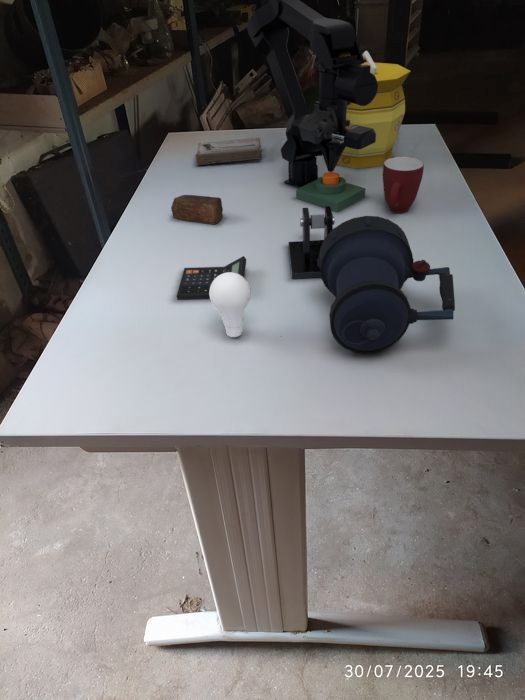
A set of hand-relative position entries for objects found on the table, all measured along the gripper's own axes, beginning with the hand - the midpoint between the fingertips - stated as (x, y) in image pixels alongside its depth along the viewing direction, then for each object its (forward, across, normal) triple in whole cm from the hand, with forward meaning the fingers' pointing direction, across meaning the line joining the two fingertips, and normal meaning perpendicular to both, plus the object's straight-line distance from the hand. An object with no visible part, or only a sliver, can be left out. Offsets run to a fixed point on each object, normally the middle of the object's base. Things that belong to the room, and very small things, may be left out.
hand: (330, 171), depth 119 cm
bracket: (+6, +16, -24) cm, 30 cm away
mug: (+6, +16, +3) cm, 18 cm away
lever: (+1, +14, -22) cm, 26 cm away
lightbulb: (+6, +21, -50) cm, 55 cm away
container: (+6, -10, +25) cm, 28 cm away
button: (+3, 0, 0) cm, 3 cm away
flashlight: (+6, +37, -33) cm, 50 cm away
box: (+6, -38, +4) cm, 39 cm away
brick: (+6, -16, -26) cm, 31 cm away
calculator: (+6, +7, -42) cm, 43 cm away
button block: (+6, 0, 0) cm, 6 cm away
